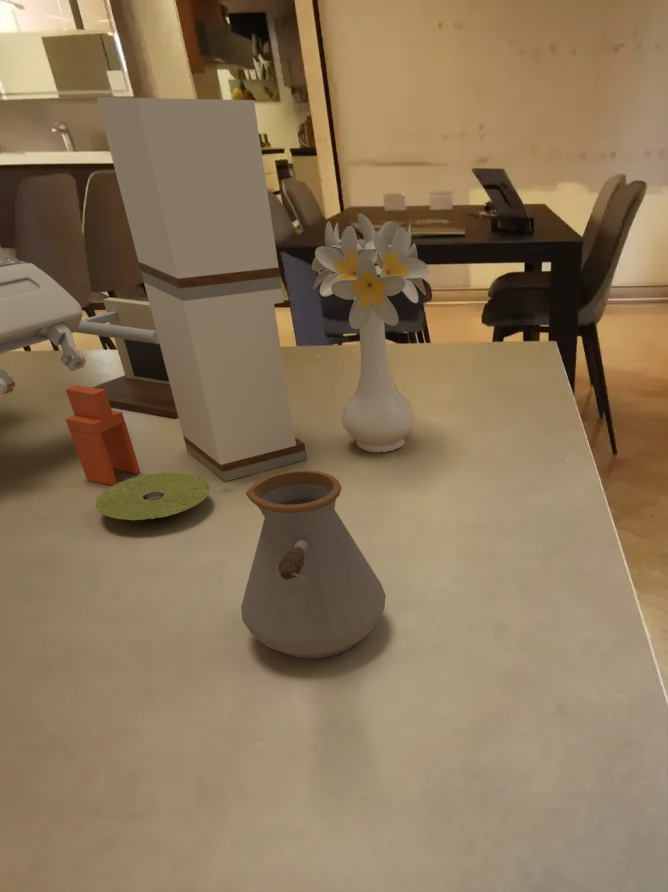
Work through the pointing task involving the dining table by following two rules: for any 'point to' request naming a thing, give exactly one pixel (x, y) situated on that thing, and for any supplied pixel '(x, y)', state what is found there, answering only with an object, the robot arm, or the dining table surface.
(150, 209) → the white striped pedestal
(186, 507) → the mat
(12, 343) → the robot arm
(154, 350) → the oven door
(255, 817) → the dining table surface
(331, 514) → the coffee pot
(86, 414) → the clip
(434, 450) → the dining table surface
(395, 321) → the flower vase
